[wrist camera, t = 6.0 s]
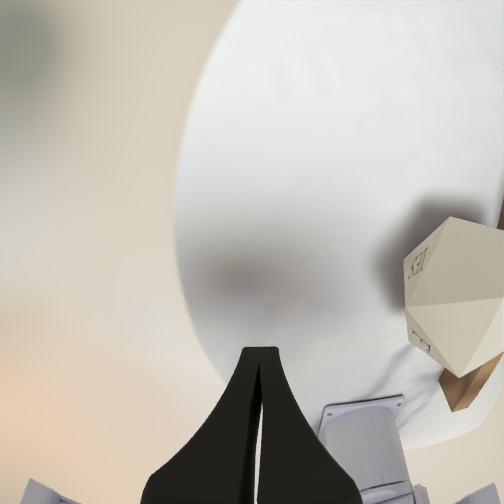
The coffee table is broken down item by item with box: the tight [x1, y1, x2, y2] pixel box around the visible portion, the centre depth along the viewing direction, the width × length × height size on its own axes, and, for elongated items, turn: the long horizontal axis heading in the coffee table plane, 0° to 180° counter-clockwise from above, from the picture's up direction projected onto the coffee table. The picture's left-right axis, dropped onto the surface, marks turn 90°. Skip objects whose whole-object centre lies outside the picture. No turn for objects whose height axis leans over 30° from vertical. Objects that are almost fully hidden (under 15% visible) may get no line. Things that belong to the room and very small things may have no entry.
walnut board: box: [439, 202, 504, 412], centre depth 17 cm, size 20×2×4 cm, turn 4°
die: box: [403, 216, 504, 378], centre depth 14 cm, size 8×9×10 cm
